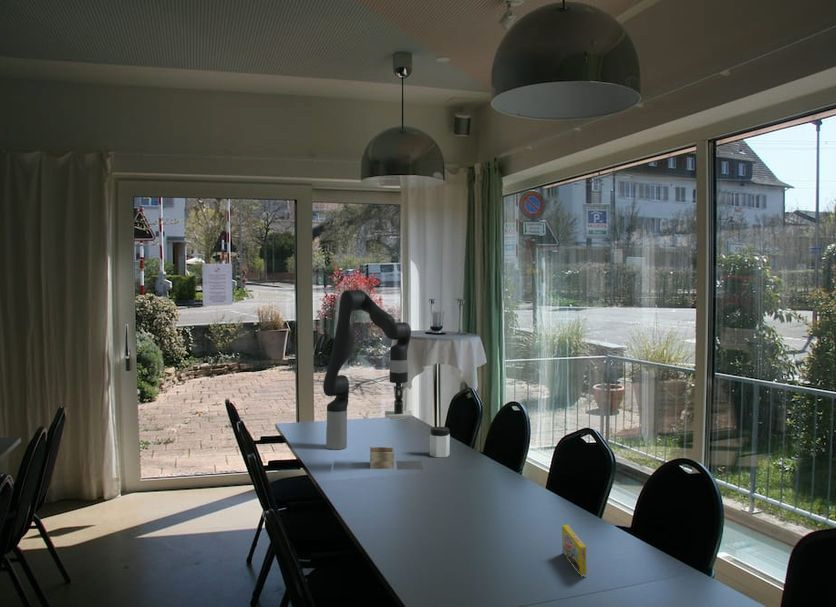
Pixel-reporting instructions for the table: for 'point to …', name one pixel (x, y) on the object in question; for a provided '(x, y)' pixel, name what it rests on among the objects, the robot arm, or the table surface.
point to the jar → (439, 442)
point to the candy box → (574, 549)
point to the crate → (381, 457)
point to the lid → (398, 415)
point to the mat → (409, 465)
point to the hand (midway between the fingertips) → (398, 412)
